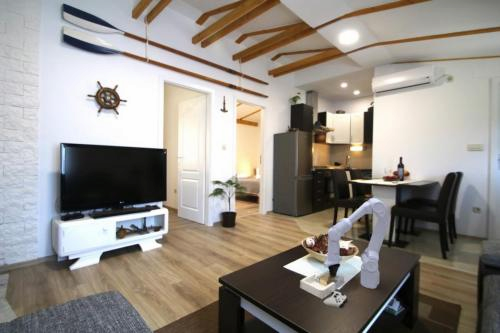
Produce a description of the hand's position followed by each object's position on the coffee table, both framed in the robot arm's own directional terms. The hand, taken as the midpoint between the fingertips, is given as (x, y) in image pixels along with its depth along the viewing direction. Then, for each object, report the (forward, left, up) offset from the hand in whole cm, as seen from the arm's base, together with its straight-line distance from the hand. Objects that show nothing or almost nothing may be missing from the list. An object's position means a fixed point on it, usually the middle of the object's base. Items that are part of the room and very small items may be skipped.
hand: (332, 277), depth 120 cm
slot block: (+3, 0, -2) cm, 3 cm away
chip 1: (+7, 0, -1) cm, 7 cm away
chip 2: (+3, 0, -1) cm, 3 cm away
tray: (+14, 0, -2) cm, 14 cm away
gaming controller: (+16, +11, -3) cm, 19 cm away
